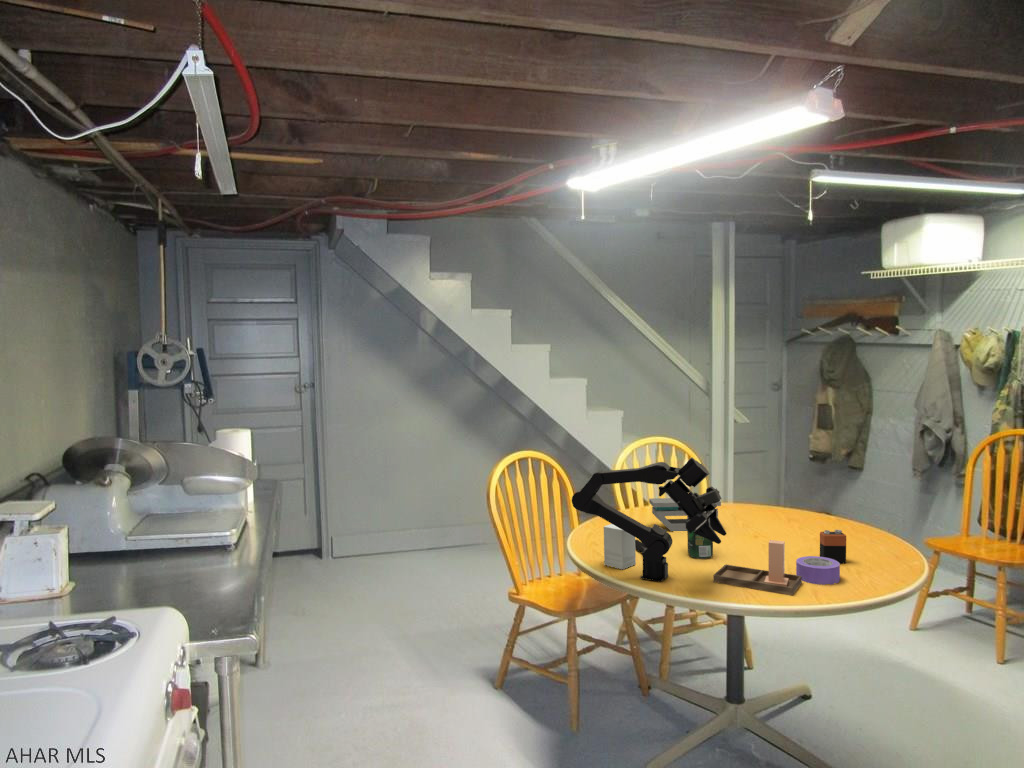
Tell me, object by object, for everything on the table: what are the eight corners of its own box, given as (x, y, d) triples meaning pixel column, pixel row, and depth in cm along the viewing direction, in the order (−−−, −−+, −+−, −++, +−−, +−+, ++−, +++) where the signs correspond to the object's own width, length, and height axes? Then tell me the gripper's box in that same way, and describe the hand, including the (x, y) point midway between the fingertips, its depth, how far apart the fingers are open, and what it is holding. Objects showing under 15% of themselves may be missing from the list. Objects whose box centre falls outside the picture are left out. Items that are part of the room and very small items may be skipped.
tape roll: (804, 585, 204) (804, 568, 204) (790, 572, 216) (790, 555, 216) (846, 585, 204) (846, 567, 203) (830, 572, 215) (830, 555, 215)
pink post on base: (764, 585, 202) (764, 543, 202) (766, 579, 208) (766, 538, 207) (786, 588, 200) (786, 545, 199) (788, 581, 205) (788, 540, 204)
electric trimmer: (641, 547, 246) (641, 538, 246) (658, 560, 231) (658, 550, 231) (631, 548, 245) (631, 539, 245) (647, 560, 230) (646, 551, 230)
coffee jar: (685, 550, 239) (685, 496, 238) (709, 551, 239) (709, 496, 238) (689, 559, 230) (689, 502, 229) (715, 559, 229) (714, 502, 228)
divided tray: (713, 581, 208) (713, 575, 208) (725, 570, 218) (725, 564, 217) (792, 595, 195) (792, 588, 195) (801, 582, 205) (801, 576, 205)
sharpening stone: (714, 525, 272) (714, 497, 271) (721, 530, 264) (720, 501, 264) (649, 526, 272) (649, 498, 271) (653, 532, 264) (653, 503, 263)
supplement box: (636, 564, 225) (636, 525, 224) (622, 570, 220) (622, 529, 219) (617, 560, 230) (617, 521, 230) (603, 565, 225) (602, 525, 224)
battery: (846, 563, 223) (846, 532, 222) (824, 563, 223) (824, 532, 223) (841, 559, 227) (841, 528, 226) (819, 559, 227) (819, 528, 227)
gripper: (697, 485, 197) (739, 528, 192) (709, 473, 213) (748, 513, 209) (668, 511, 200) (709, 554, 196) (683, 498, 217) (720, 537, 213)
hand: (722, 538), depth 204 cm, fingers open, 9 cm apart
